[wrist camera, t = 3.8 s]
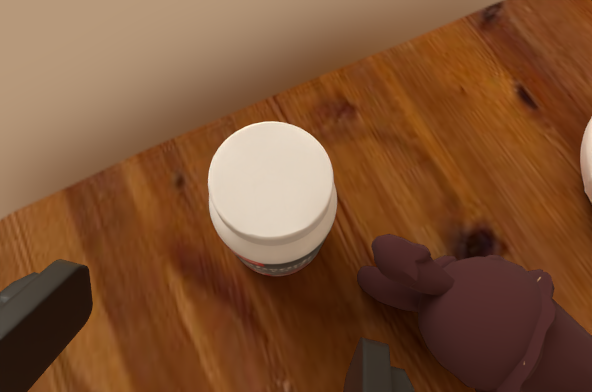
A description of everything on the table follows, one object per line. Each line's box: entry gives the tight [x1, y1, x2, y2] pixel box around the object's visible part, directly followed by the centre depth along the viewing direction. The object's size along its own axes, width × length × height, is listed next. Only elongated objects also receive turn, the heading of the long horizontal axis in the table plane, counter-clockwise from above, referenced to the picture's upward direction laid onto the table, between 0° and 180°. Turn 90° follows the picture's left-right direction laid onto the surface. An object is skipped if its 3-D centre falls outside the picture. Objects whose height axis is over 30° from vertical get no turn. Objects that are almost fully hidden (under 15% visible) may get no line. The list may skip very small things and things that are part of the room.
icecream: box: [357, 234, 592, 392], centre depth 19 cm, size 7×7×15 cm
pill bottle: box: [208, 122, 337, 276], centre depth 19 cm, size 6×6×10 cm
